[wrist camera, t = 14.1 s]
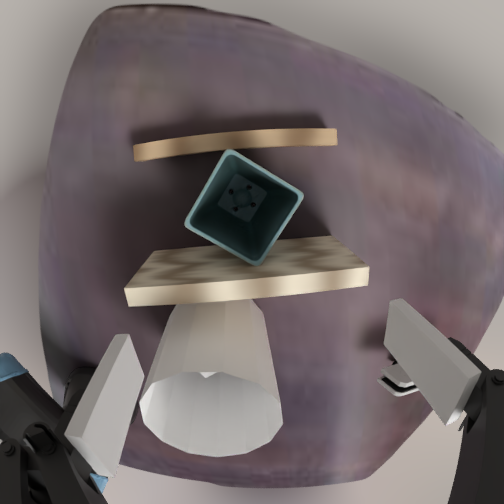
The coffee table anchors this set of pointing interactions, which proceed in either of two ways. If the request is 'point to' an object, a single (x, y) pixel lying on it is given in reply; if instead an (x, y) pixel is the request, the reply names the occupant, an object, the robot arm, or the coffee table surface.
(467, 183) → the coffee table surface
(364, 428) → the coffee table surface
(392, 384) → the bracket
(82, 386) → the robot arm
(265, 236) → the flower pot
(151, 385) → the container
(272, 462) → the coffee table surface
